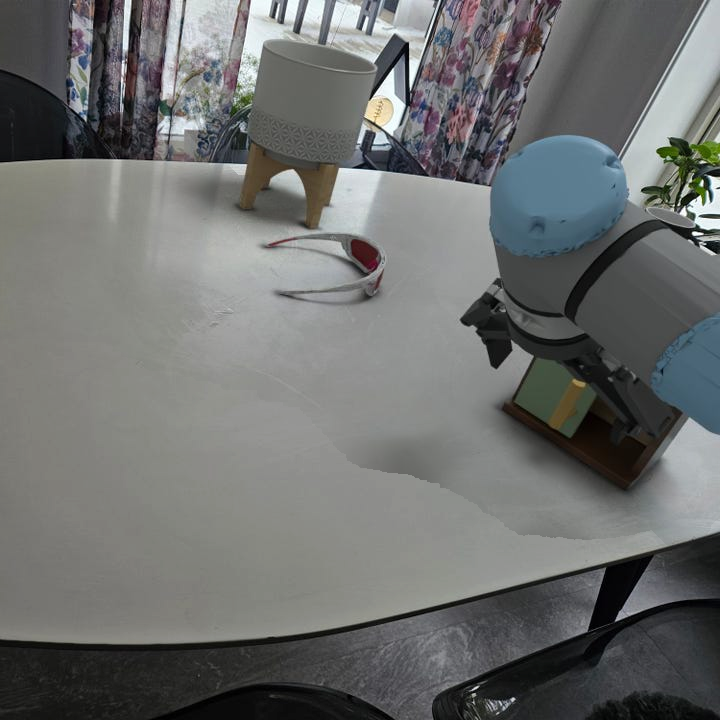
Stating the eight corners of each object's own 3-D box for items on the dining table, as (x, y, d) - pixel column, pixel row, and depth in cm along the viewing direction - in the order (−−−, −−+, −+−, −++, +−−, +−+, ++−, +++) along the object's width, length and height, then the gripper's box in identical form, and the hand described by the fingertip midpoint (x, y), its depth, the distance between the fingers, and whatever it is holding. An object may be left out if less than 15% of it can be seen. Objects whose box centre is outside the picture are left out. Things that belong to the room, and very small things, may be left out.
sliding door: (573, 436, 81) (616, 363, 75) (551, 452, 78) (594, 378, 72) (516, 400, 85) (553, 328, 79) (493, 414, 82) (530, 340, 76)
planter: (268, 231, 116) (304, 68, 101) (216, 185, 128) (242, 34, 114) (356, 225, 125) (401, 75, 110) (300, 183, 138) (333, 43, 123)
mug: (612, 258, 135) (638, 209, 130) (630, 250, 141) (656, 203, 135) (673, 287, 129) (703, 237, 123) (689, 278, 134) (719, 230, 129)
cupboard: (659, 458, 83) (722, 371, 75) (626, 490, 77) (690, 398, 69) (540, 385, 92) (585, 300, 84) (501, 408, 85) (547, 318, 78)
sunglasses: (396, 308, 101) (401, 277, 98) (281, 315, 100) (282, 284, 97) (364, 253, 115) (368, 225, 112) (263, 258, 113) (264, 230, 110)
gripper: (398, 261, 60) (436, 356, 78) (689, 431, 46) (655, 499, 64) (454, 196, 60) (479, 306, 78) (760, 345, 47) (706, 437, 64)
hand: (558, 393), depth 71 cm, fingers open, 13 cm apart
